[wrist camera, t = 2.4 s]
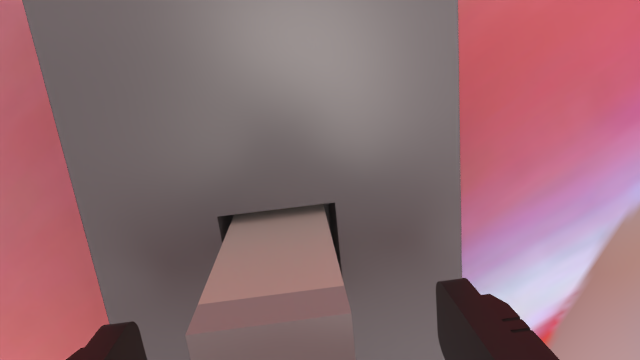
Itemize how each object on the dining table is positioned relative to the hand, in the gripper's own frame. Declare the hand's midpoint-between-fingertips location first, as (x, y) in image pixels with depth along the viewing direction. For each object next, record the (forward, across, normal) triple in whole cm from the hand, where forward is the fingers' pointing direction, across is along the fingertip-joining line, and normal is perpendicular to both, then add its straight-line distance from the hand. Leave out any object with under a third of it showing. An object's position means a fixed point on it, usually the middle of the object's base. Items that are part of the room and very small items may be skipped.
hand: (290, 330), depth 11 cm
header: (+9, 0, 0) cm, 9 cm away
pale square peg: (+9, 0, 0) cm, 9 cm away
